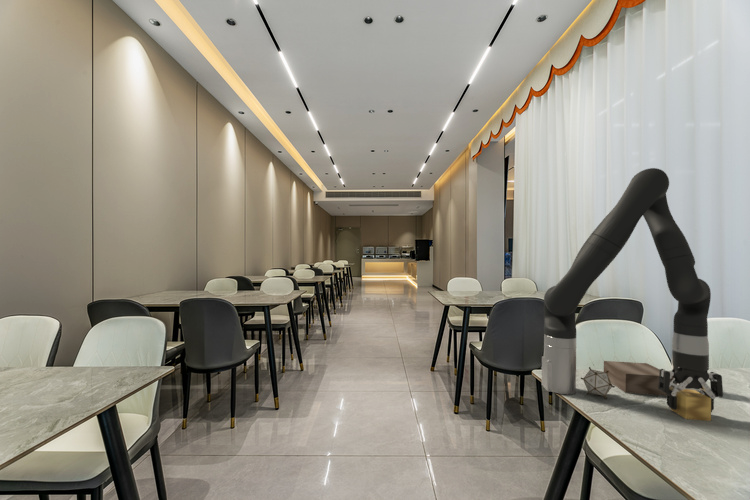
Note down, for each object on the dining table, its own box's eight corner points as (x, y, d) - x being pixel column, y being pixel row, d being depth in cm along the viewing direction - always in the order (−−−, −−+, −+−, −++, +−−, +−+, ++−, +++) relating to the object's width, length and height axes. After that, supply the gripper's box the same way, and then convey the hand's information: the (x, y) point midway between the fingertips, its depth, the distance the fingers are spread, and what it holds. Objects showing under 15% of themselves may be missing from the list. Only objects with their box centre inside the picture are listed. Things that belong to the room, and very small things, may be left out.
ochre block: (685, 419, 94) (685, 396, 94) (670, 409, 100) (670, 388, 100) (711, 421, 93) (711, 398, 93) (693, 411, 99) (693, 389, 99)
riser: (625, 392, 112) (625, 373, 112) (603, 377, 126) (603, 360, 126) (674, 396, 110) (674, 376, 110) (646, 380, 123) (646, 363, 124)
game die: (590, 405, 111) (573, 373, 116) (618, 398, 109) (600, 366, 115) (594, 400, 104) (576, 366, 109) (624, 392, 102) (605, 359, 108)
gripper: (670, 352, 94) (670, 413, 94) (731, 355, 92) (731, 418, 92) (652, 345, 102) (652, 402, 101) (708, 348, 99) (708, 406, 99)
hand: (689, 409), depth 97 cm, fingers open, 8 cm apart
